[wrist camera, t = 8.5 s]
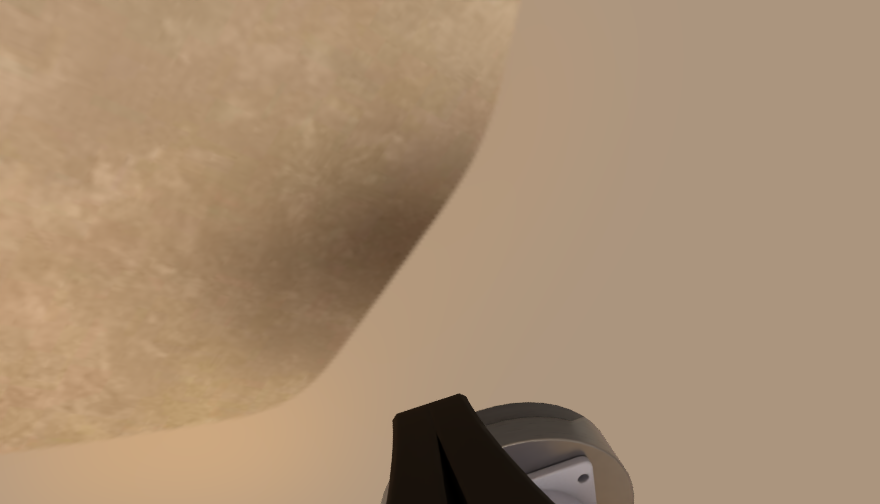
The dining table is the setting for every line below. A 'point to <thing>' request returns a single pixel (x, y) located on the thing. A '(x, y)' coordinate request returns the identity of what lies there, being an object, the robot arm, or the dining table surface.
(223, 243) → the dining table surface
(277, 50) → the dining table surface
